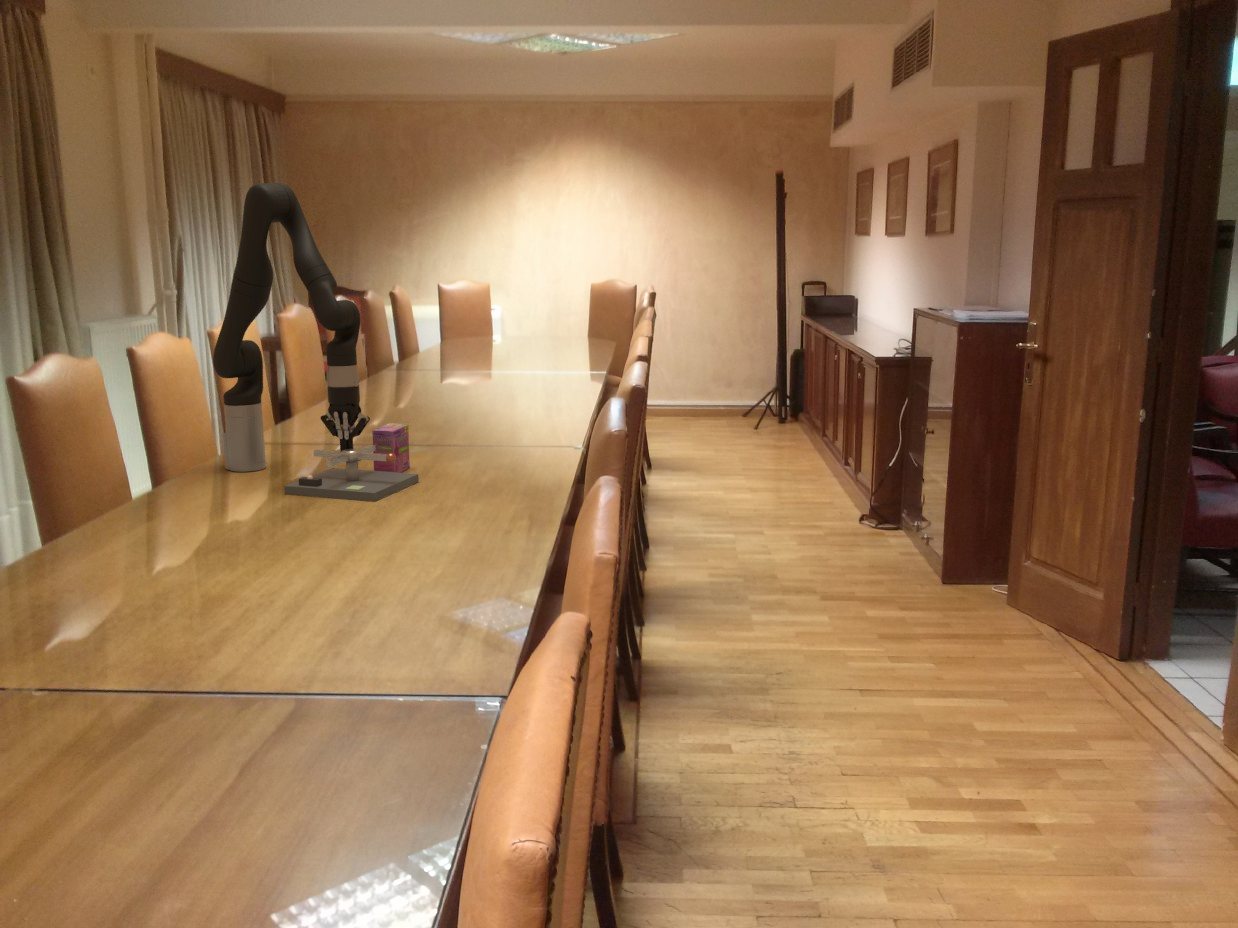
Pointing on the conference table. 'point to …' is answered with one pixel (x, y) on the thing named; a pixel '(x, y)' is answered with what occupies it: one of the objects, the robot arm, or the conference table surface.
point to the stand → (351, 483)
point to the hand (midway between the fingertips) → (347, 453)
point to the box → (392, 447)
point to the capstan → (354, 455)
